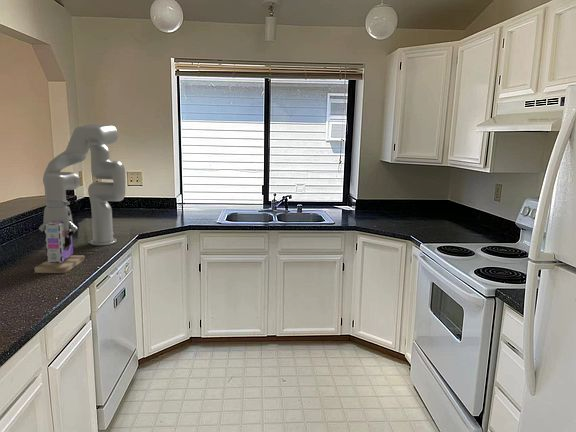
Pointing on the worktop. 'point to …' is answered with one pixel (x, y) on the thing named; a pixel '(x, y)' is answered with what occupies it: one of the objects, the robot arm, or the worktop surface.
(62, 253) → the candy box
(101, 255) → the worktop surface
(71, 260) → the cutting board
